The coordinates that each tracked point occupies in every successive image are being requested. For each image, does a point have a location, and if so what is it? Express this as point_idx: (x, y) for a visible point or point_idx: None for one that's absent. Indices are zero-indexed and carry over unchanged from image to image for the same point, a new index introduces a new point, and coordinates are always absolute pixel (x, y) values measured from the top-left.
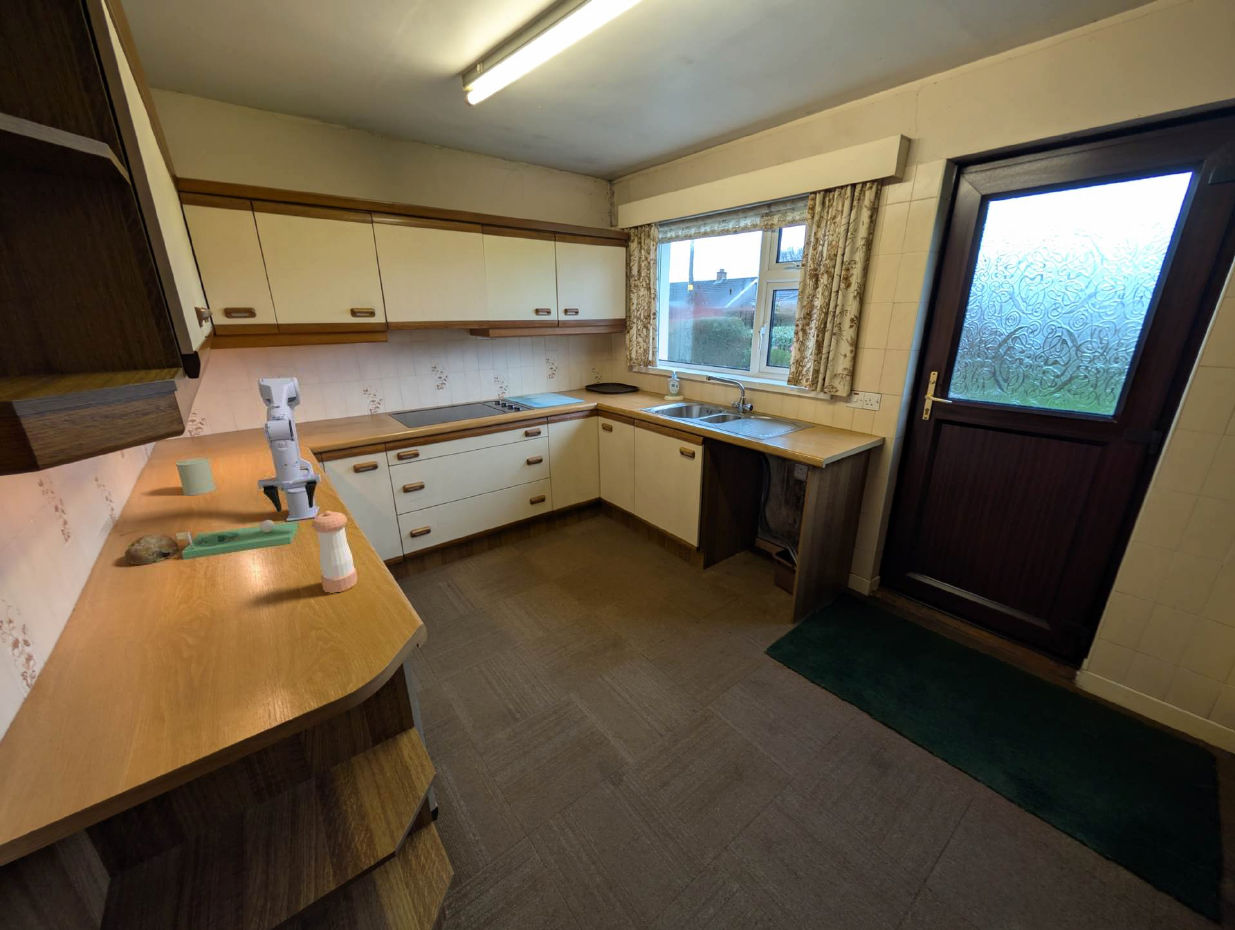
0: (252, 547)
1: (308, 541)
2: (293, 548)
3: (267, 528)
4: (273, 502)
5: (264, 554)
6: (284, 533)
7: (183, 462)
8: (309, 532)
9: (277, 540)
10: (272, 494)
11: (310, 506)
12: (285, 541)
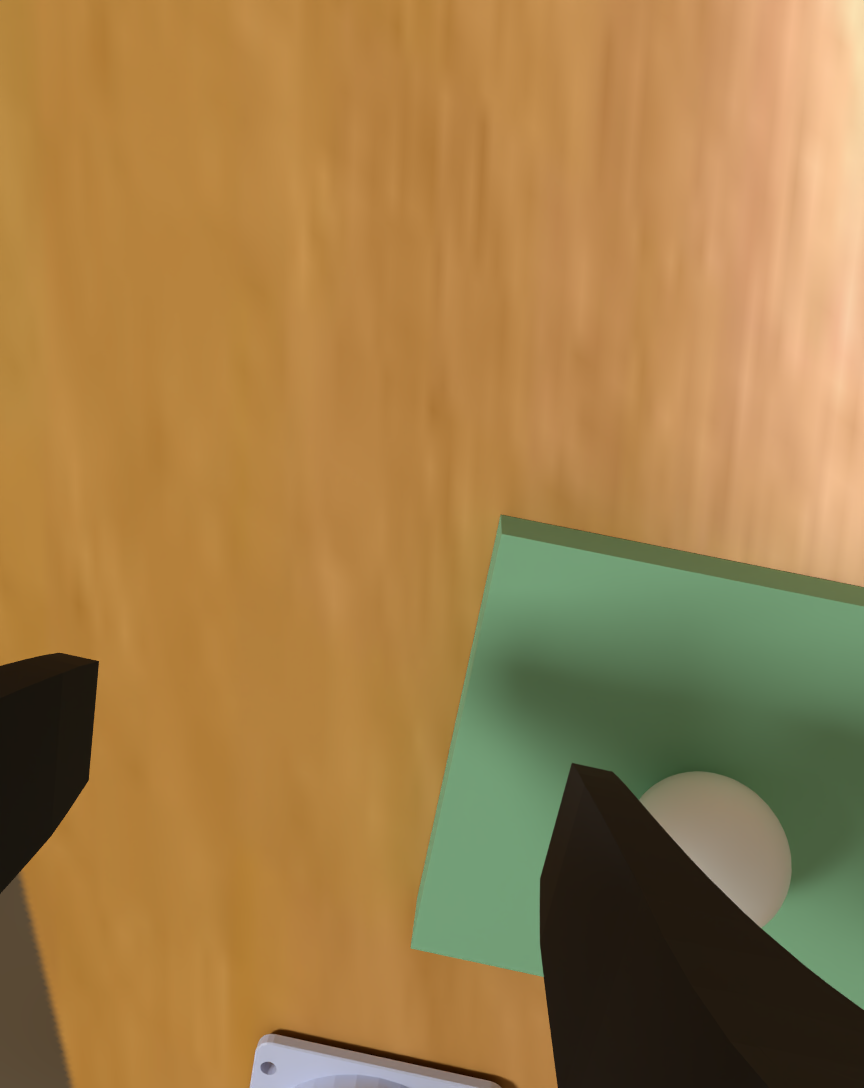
0: (852, 587)
1: (339, 463)
2: (485, 351)
3: (713, 783)
4: (708, 891)
5: (760, 357)
6: (544, 671)
7: None
8: (324, 705)
9: (622, 551)
10: (790, 1058)
11: (59, 658)
12: (547, 530)
